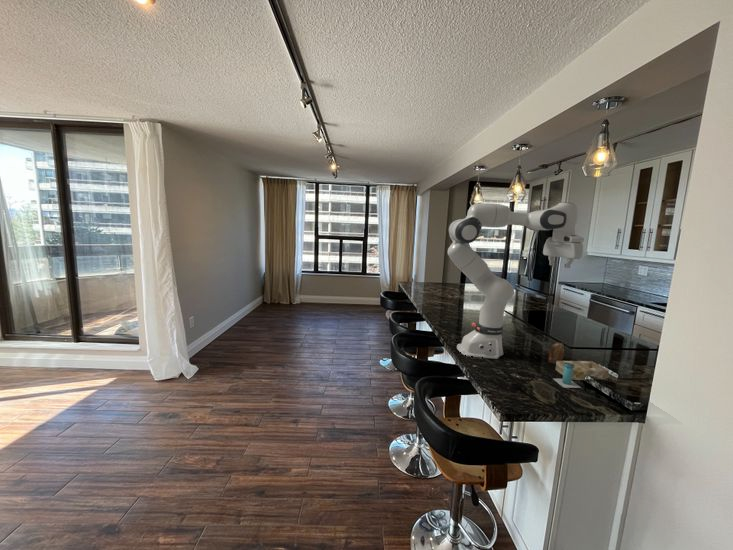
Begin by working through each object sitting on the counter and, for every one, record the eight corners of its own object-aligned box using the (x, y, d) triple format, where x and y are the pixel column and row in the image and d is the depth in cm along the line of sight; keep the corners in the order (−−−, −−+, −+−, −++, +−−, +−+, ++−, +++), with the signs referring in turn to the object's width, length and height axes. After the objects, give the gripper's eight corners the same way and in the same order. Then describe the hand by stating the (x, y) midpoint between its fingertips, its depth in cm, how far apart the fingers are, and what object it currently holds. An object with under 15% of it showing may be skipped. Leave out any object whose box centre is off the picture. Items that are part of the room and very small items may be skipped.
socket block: (569, 381, 124) (571, 370, 123) (555, 371, 133) (556, 360, 132) (607, 382, 124) (609, 370, 123) (590, 371, 133) (592, 360, 132)
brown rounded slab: (553, 366, 137) (555, 349, 136) (545, 364, 140) (548, 347, 138) (564, 358, 147) (566, 342, 146) (557, 356, 149) (559, 340, 148)
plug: (565, 385, 120) (567, 366, 118) (559, 380, 123) (562, 362, 122) (573, 385, 120) (576, 366, 118) (567, 380, 123) (570, 362, 122)
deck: (563, 389, 118) (563, 387, 118) (552, 380, 125) (552, 378, 125) (581, 389, 118) (581, 387, 118) (568, 380, 125) (569, 378, 125)
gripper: (541, 236, 151) (538, 263, 154) (574, 238, 131) (570, 269, 134) (552, 237, 152) (549, 264, 155) (587, 238, 132) (582, 269, 135)
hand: (559, 266), depth 144 cm, fingers open, 8 cm apart
